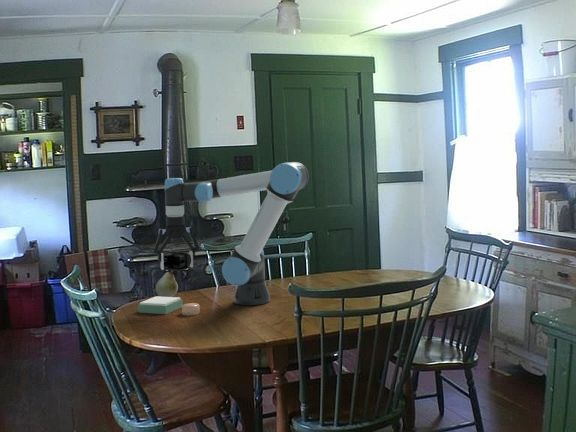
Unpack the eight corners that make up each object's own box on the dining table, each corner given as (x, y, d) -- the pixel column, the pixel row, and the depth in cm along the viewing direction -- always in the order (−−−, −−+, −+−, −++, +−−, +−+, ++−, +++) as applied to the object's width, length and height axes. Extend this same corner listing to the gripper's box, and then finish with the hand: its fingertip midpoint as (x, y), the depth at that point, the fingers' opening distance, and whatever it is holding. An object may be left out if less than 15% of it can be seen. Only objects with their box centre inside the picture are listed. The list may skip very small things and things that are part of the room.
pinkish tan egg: (202, 312, 280) (202, 303, 280) (194, 316, 273) (193, 307, 273) (187, 311, 283) (187, 302, 282) (178, 315, 276) (178, 306, 276)
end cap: (191, 268, 288) (191, 252, 287) (181, 271, 282) (181, 254, 281) (172, 266, 292) (171, 250, 292) (161, 269, 286) (161, 253, 285)
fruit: (182, 296, 310) (181, 270, 308) (165, 300, 303) (163, 273, 302) (169, 294, 317) (167, 268, 316) (151, 298, 310) (150, 271, 309)
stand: (182, 306, 290) (182, 297, 290) (165, 314, 278) (165, 304, 278) (156, 305, 295) (155, 295, 295) (138, 312, 283) (137, 302, 283)
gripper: (201, 213, 292) (202, 264, 295) (144, 216, 284) (146, 268, 286) (205, 215, 285) (207, 267, 288) (147, 218, 277) (149, 272, 279)
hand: (177, 268), depth 287 cm, fingers closed on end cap, 11 cm apart
